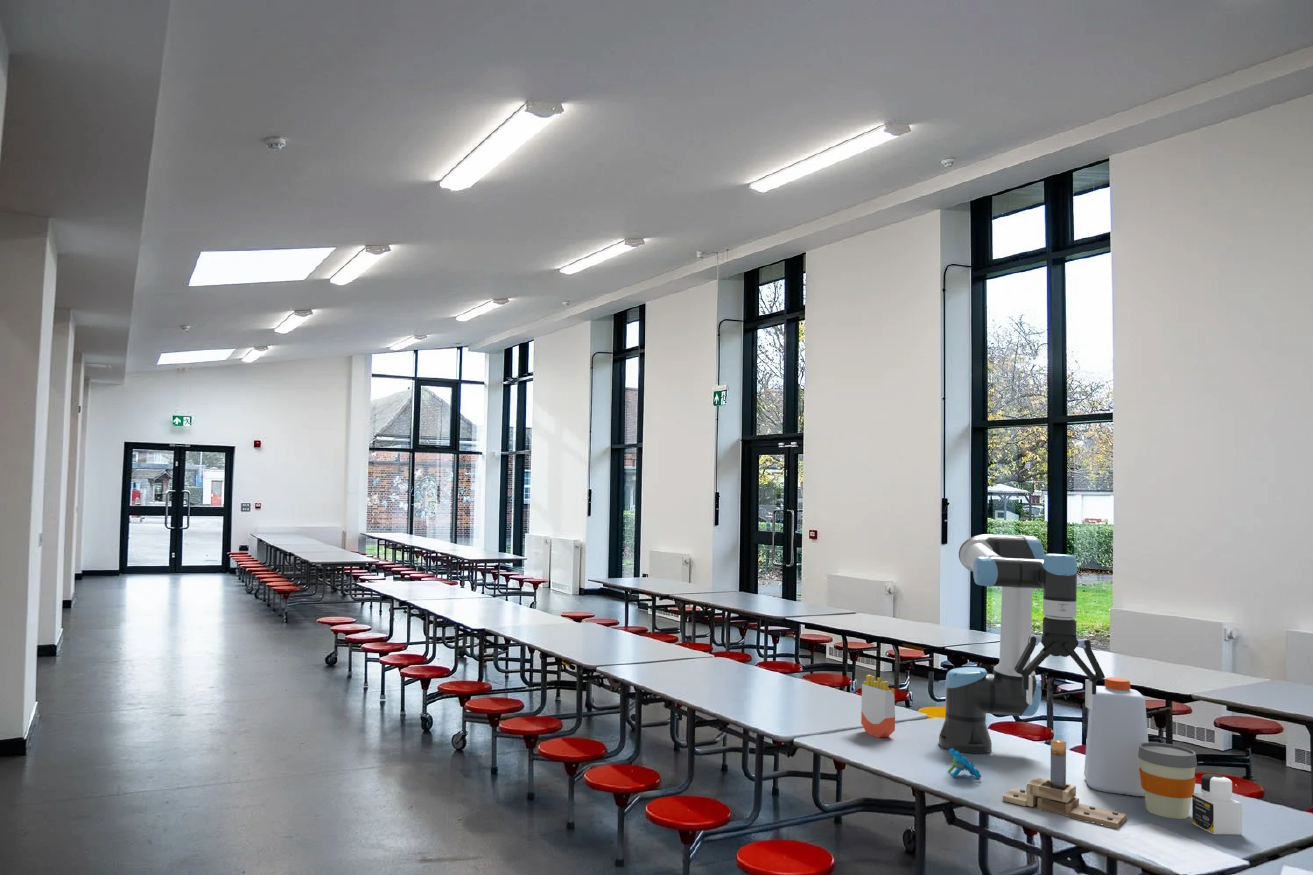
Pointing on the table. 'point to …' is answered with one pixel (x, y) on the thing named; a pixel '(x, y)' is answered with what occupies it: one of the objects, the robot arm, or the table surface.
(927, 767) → the table surface
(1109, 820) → the wooden mounting plate
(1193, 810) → the medicine bottle
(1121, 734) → the plastic bottle
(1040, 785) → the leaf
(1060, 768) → the pin
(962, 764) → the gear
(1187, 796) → the reusable coffee cup
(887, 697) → the french fries container
